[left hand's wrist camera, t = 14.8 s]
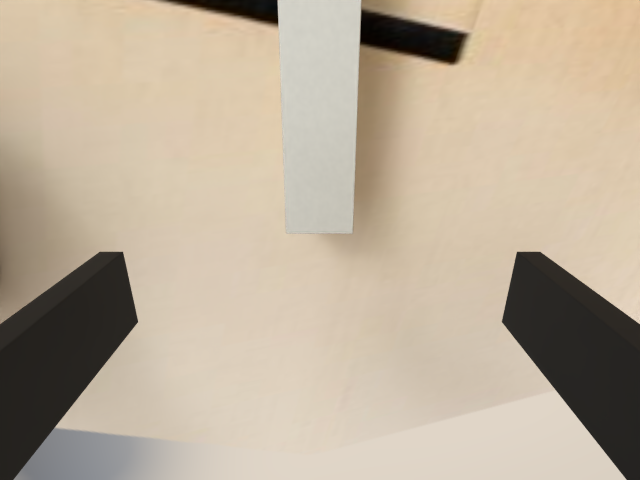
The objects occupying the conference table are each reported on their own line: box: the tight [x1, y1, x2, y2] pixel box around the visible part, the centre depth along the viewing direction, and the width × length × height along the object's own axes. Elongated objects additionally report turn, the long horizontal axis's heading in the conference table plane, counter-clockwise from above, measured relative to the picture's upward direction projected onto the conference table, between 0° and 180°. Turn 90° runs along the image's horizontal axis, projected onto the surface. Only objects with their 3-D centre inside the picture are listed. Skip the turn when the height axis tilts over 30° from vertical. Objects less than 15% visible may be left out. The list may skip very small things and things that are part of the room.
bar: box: [278, 0, 361, 234], centre depth 28 cm, size 22×5×8 cm, turn 0°
